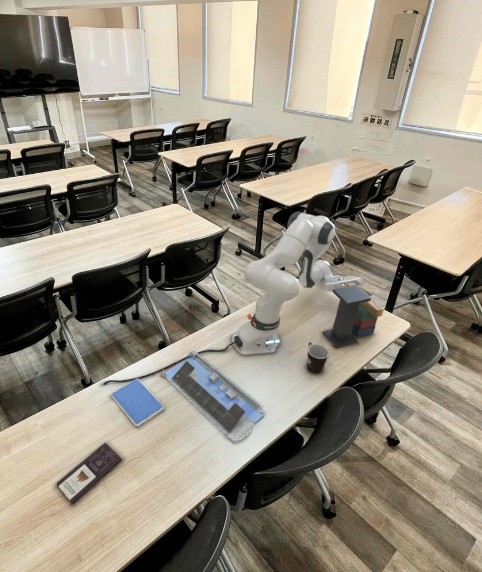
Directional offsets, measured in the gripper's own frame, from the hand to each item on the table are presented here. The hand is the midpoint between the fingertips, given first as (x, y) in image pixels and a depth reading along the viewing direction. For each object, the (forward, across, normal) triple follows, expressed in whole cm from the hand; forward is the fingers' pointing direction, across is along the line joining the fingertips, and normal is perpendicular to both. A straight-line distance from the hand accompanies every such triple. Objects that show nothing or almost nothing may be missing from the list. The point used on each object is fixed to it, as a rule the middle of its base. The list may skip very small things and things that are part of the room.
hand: (352, 285), depth 176 cm
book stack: (-1, 0, +21) cm, 21 cm away
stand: (+3, -12, +24) cm, 27 cm away
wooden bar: (+6, 0, +8) cm, 10 cm away
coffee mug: (+13, -33, +30) cm, 47 cm away
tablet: (+10, -110, +28) cm, 113 cm away
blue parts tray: (+14, -81, +31) cm, 87 cm away
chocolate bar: (+30, -127, +40) cm, 137 cm away
